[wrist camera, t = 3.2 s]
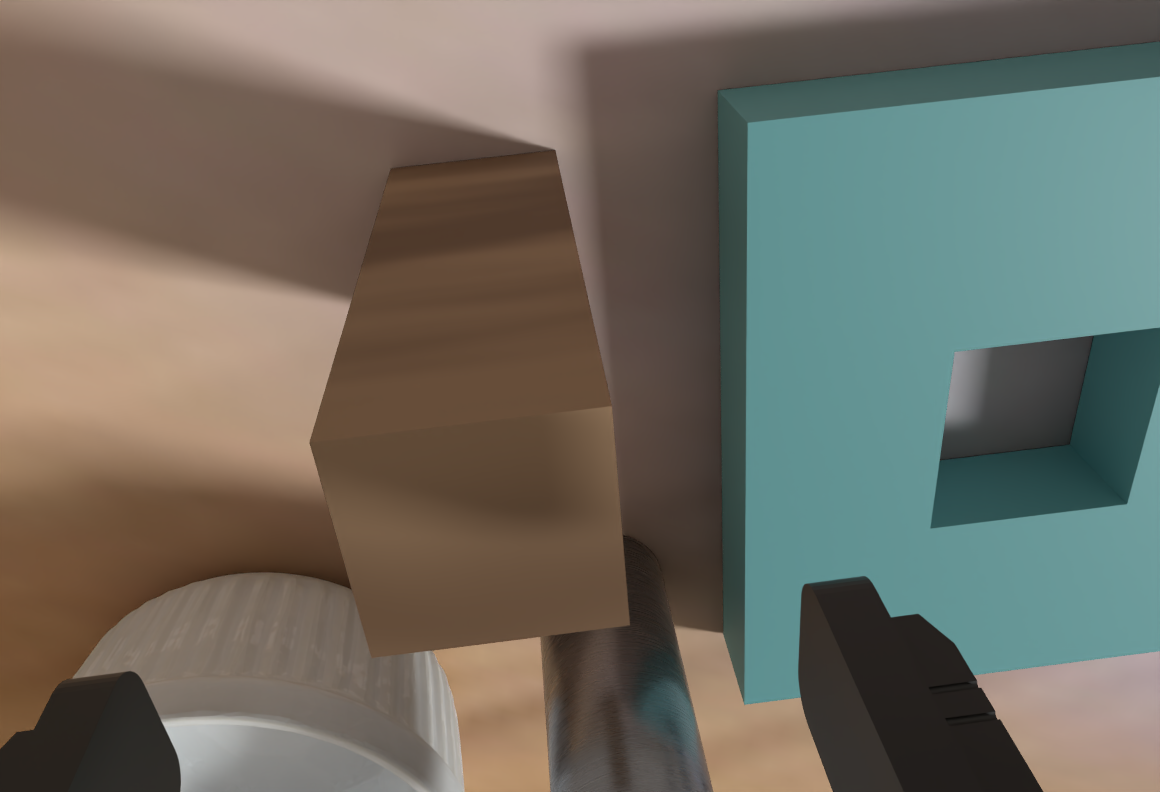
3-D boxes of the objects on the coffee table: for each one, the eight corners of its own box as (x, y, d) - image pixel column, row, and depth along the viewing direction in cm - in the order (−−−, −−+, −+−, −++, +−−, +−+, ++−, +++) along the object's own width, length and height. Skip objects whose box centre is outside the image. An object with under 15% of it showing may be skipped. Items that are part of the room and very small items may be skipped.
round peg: (529, 541, 29) (553, 931, 18) (658, 525, 29) (752, 903, 19) (544, 634, 31) (571, 1031, 20) (663, 619, 31) (751, 1007, 21)
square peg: (390, 168, 22) (309, 442, 12) (555, 149, 23) (611, 406, 12) (419, 316, 25) (371, 658, 14) (570, 299, 25) (630, 625, 14)
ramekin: (149, 468, 26) (49, 651, 20) (549, 622, 31) (564, 810, 25) (18, 750, 32) (-91, 961, 26) (376, 847, 36) (353, 1048, 30)
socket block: (717, 90, 22) (748, 122, 20) (1368, 18, 23) (1481, 40, 20) (723, 634, 31) (744, 704, 29) (1184, 575, 32) (1245, 639, 29)
